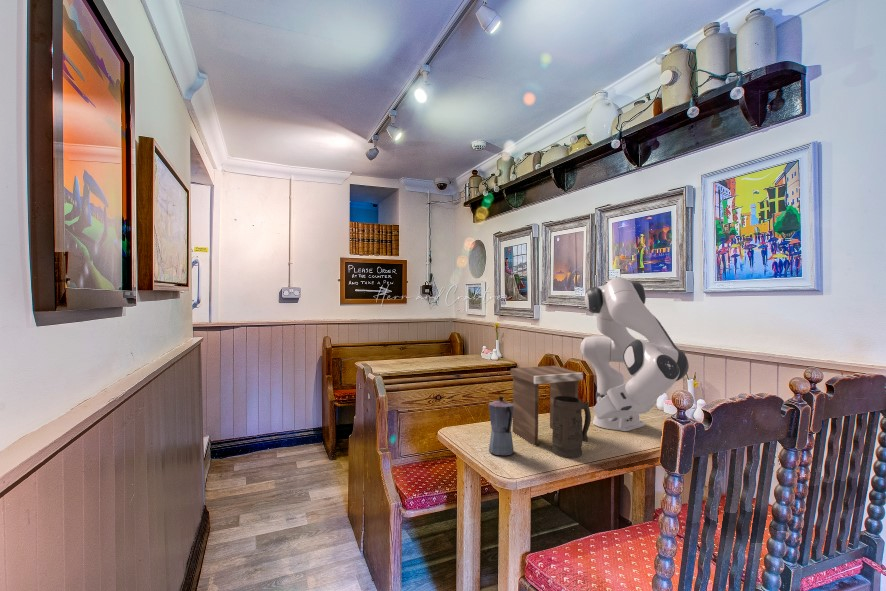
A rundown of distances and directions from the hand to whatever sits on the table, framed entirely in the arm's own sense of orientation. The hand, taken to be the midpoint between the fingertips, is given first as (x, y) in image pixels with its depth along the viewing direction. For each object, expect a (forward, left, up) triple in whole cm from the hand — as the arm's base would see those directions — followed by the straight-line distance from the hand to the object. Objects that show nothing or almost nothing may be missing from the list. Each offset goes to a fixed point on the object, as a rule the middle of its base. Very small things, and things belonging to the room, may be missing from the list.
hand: (611, 419), depth 134 cm
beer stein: (0, -19, -18) cm, 26 cm away
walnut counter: (0, -36, -17) cm, 40 cm away
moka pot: (+25, -27, -18) cm, 41 cm away
